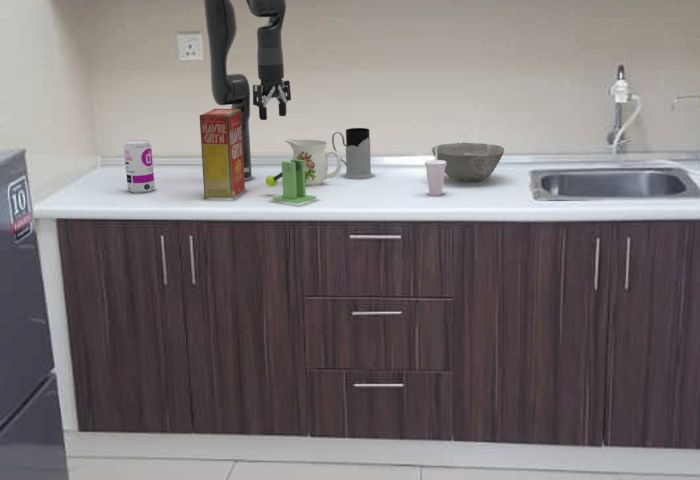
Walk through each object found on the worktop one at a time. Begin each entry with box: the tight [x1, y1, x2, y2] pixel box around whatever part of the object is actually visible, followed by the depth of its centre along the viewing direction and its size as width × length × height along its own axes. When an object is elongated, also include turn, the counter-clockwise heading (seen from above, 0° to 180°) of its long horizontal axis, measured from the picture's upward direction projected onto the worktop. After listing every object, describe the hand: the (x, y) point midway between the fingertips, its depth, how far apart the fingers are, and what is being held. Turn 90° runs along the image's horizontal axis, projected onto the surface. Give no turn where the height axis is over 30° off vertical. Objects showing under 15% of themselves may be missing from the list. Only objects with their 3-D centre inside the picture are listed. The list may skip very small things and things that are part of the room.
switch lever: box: [265, 161, 300, 188], centre depth 286 cm, size 13×3×3 cm, turn 53°
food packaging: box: [199, 108, 246, 199], centre depth 291 cm, size 13×9×25 cm
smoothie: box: [424, 146, 446, 197], centre depth 289 cm, size 6×6×14 cm
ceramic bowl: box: [431, 142, 505, 183], centre depth 308 cm, size 22×23×10 cm
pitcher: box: [284, 139, 342, 186], centre depth 304 cm, size 11×18×14 cm, turn 74°
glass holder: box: [331, 127, 373, 180], centre depth 317 cm, size 9×14×15 cm, turn 58°
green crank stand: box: [272, 158, 317, 205], centre depth 284 cm, size 10×8×12 cm
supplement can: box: [123, 139, 156, 194], centre depth 301 cm, size 8×8×15 cm
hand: (273, 117), depth 293 cm, fingers open, 8 cm apart
